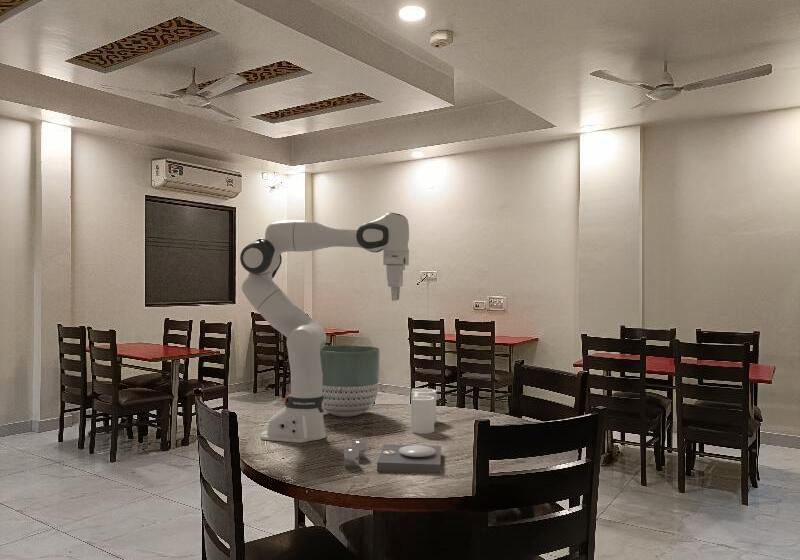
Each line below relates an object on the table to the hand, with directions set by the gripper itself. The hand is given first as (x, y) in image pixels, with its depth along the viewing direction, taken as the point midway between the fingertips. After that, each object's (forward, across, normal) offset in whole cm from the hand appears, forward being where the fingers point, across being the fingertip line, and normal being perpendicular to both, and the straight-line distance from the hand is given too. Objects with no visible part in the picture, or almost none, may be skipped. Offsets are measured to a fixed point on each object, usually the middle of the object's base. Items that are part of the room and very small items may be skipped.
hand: (395, 300), depth 215 cm
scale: (+48, +27, +7) cm, 55 cm away
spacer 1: (+48, +33, -10) cm, 59 cm away
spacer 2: (+48, +24, -9) cm, 54 cm away
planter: (+48, -37, -22) cm, 65 cm away
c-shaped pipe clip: (+48, -22, +9) cm, 54 cm away
